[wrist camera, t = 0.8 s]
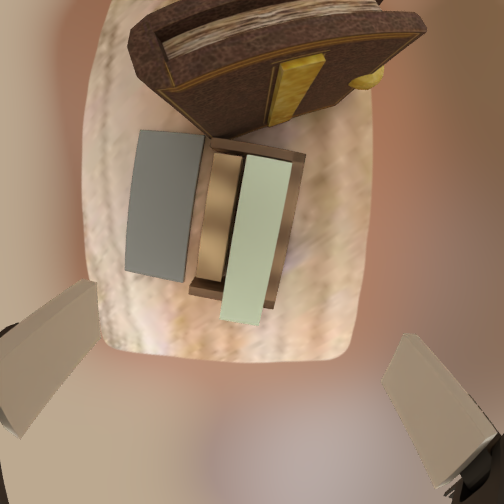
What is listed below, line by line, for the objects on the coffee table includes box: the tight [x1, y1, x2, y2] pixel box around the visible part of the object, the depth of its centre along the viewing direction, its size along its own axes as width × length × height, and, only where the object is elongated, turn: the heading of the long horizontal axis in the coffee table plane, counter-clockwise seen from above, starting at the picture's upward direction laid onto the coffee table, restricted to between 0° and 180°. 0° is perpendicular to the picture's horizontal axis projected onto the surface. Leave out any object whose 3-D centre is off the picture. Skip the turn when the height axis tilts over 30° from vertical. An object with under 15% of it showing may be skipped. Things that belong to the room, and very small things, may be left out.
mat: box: [125, 130, 205, 283], centre depth 39 cm, size 22×10×1 cm, turn 170°
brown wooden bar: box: [196, 153, 244, 282], centre depth 37 cm, size 17×4×5 cm, turn 170°
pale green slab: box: [219, 155, 292, 326], centre depth 32 cm, size 16×4×15 cm, turn 170°
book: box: [127, 0, 427, 140], centre depth 23 cm, size 22×8×25 cm, turn 111°
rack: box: [189, 137, 306, 309], centre depth 37 cm, size 20×12×6 cm, turn 170°
